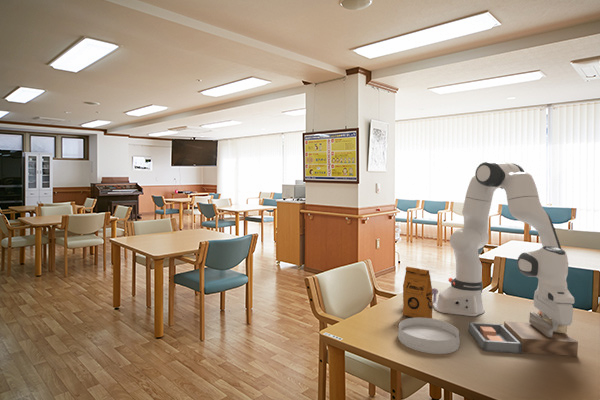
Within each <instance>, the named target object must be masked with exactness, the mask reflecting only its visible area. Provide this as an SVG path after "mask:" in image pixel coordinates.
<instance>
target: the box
mask: <svg viewBox="0 0 600 400" xmlns="http://www.w3.org/2000/svg"><path fill="white" fill-rule="evenodd" d="M480 326H481V327H492V328H493V329H494V330H495V331H496V336H500V337H501V339H502V340H503V341H490V340H486V338H485V337H483V336H482V335H481V334H480ZM468 332H469V333H470V334H471V336H472V337H473V339H474V340H475V341H476V342H477V344H478V345H479V347H480V348H481V349H482V350H483V351H484V352H493V353H494V352H495V353H496V352H497V353H508V354H509V353H510V354H511V353H512V354H522V352H521V349H522V344H521V343H520V342H519V341H518V340H517V339H516V338H515V337H514V336H513V335H512V334H511V333H510V332H509V331H508V330H507V329H506V328H505V327H504V324H502V323H489V322H487V323H486V322H474V321H473V322H470V321H469V322H468Z"/></svg>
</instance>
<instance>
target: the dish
mask: <svg viewBox="0 0 600 400" xmlns="http://www.w3.org/2000/svg"><path fill="white" fill-rule="evenodd" d="M397 337H398V341H400V344H403V345H404V347H405V346H406V347H407V348H410V349H412V350H415V351H418V352H422V353H425V354H435V355H443V354H450V353H454V352H456V351H458V350H459V348H460V341H461V339H460V331H459V329H458V328H457V327H456V326H455V325H453V324H451V323H449V322H446V321H443V320H442V319H441V320H440V319H436V318H432V319H431V318H421V317H419V318H413V317H409V318H405V319H403V320H400V322H399V324H398V331H397Z"/></svg>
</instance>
